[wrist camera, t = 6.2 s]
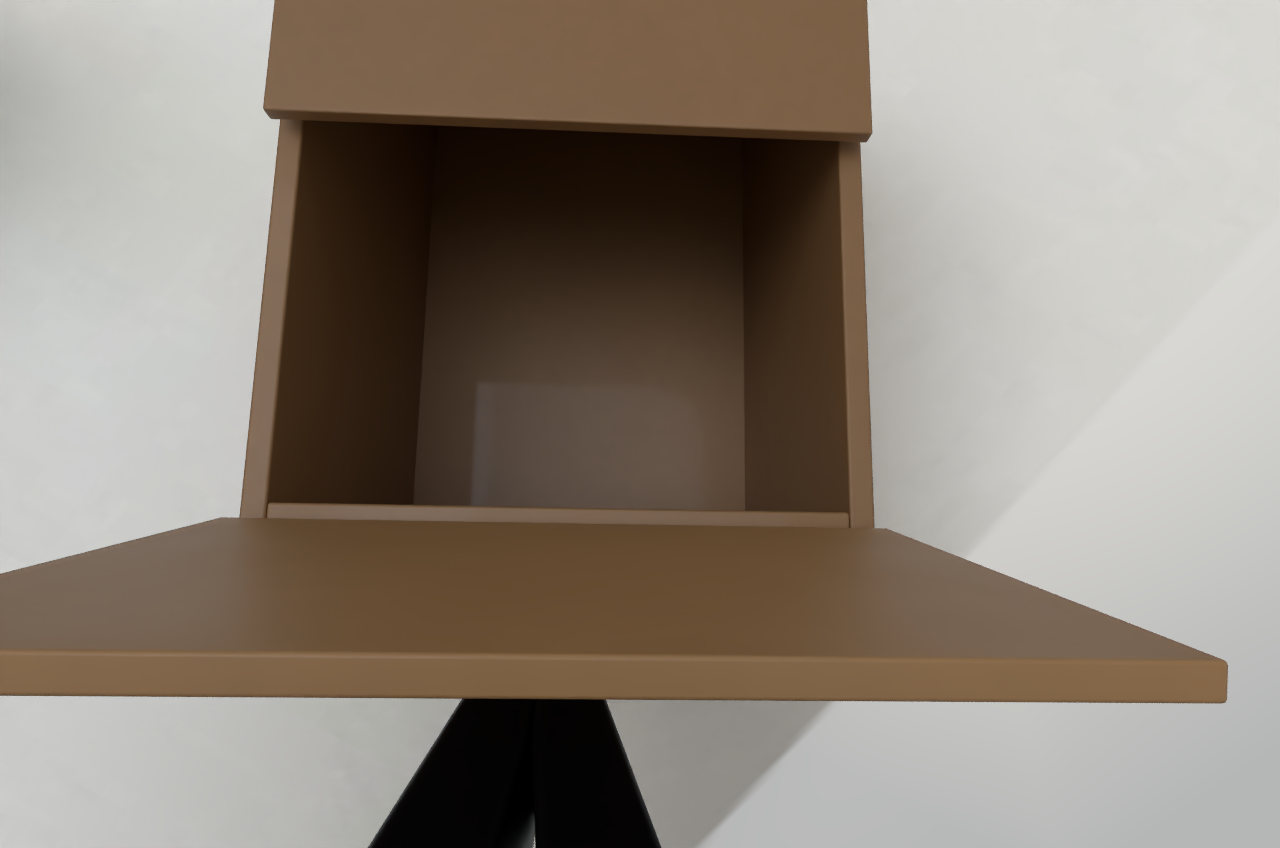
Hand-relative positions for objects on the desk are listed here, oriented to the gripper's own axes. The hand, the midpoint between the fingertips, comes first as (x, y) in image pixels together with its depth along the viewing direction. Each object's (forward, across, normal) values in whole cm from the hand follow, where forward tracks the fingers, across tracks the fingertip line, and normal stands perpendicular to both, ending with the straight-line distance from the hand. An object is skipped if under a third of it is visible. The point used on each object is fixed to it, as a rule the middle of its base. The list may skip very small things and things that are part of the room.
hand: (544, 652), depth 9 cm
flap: (0, 0, -1) cm, 1 cm away
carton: (+14, 0, +3) cm, 15 cm away
